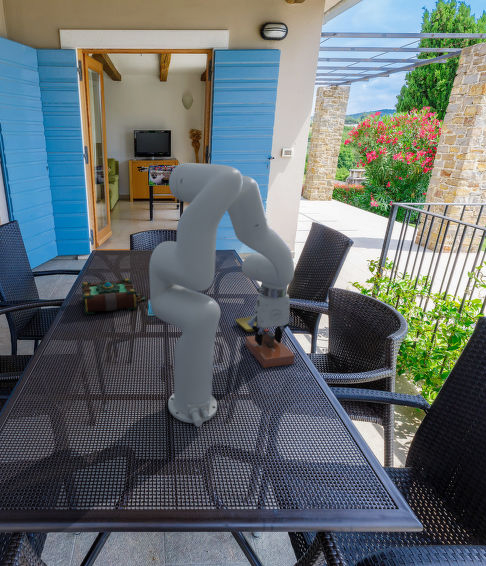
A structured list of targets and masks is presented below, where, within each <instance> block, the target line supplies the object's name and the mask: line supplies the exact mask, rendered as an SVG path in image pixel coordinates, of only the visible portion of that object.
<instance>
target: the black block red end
mask: <svg viewBox="0 0 486 566" xmlns="http://www.w3.org/2000/svg"><path fill="white" fill-rule="evenodd" d="M262 334H263V339H262V341H263V342H264V343H265V344H266V345H267V346H268V347H269V348H272V347H273V346H274V338H275V336H274V335H275V334H274V333H272V332H271V331H270V330H269V329H268V328H264V329H263V331H262ZM273 334H274V335H273Z"/></svg>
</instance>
